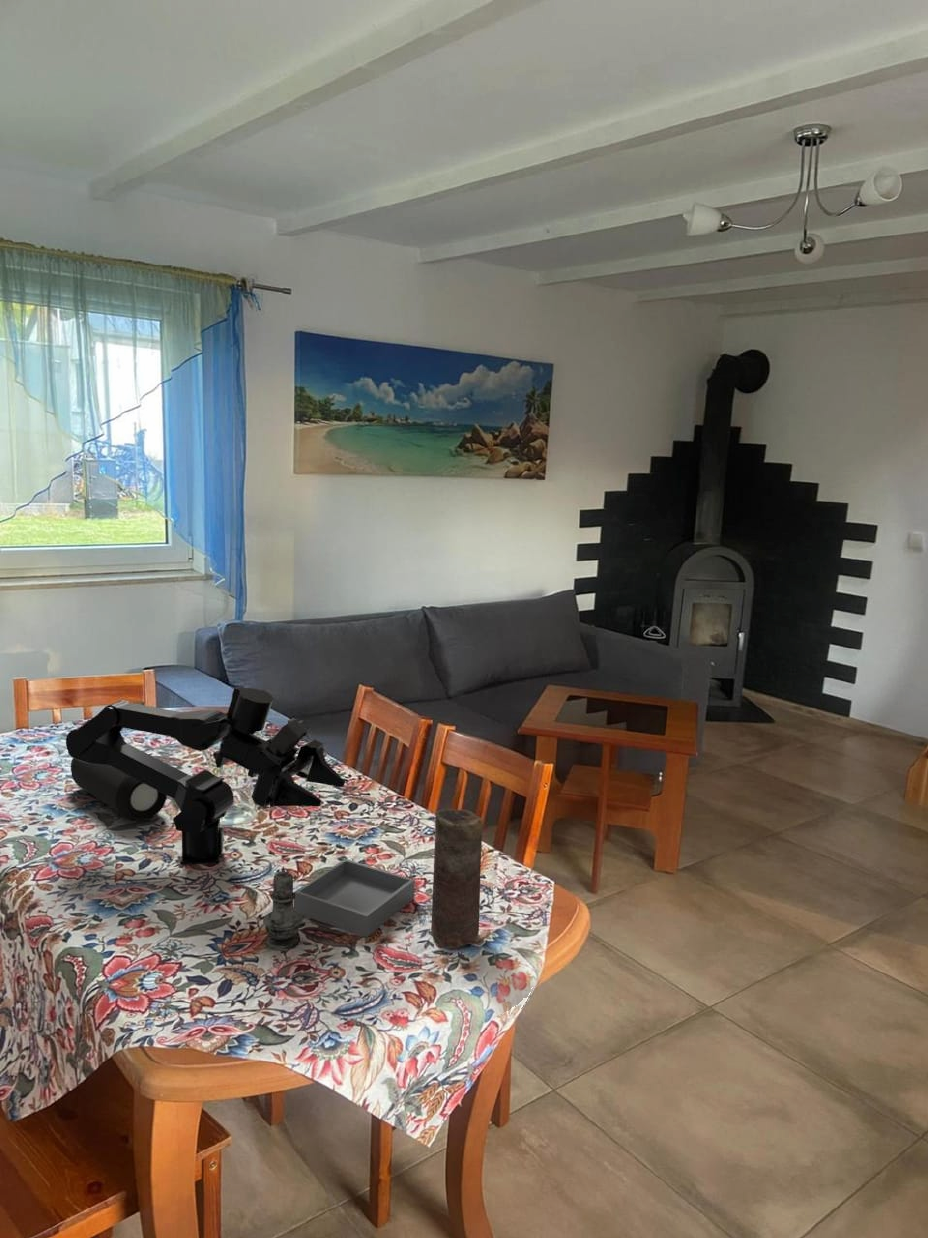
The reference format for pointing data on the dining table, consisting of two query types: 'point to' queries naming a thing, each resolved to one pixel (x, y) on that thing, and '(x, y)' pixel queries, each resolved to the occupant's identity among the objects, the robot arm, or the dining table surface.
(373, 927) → the tray
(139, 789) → the portable speaker
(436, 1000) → the dining table surface
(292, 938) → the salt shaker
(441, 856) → the candle
